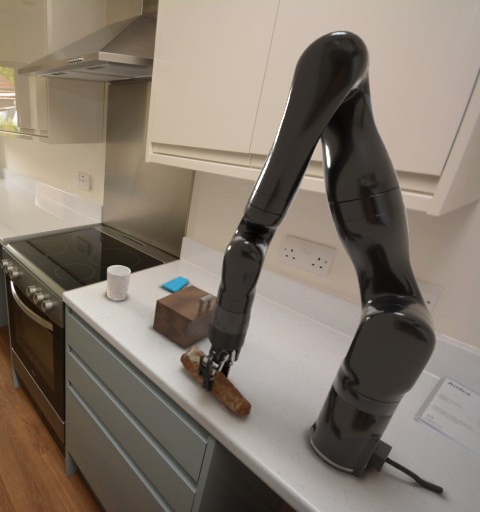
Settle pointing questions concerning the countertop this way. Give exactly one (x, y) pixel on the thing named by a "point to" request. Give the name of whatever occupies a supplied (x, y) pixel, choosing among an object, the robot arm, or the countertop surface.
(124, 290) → the white cup
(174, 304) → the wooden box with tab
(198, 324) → the bread bin
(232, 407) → the bread
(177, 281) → the sponge
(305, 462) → the countertop surface
